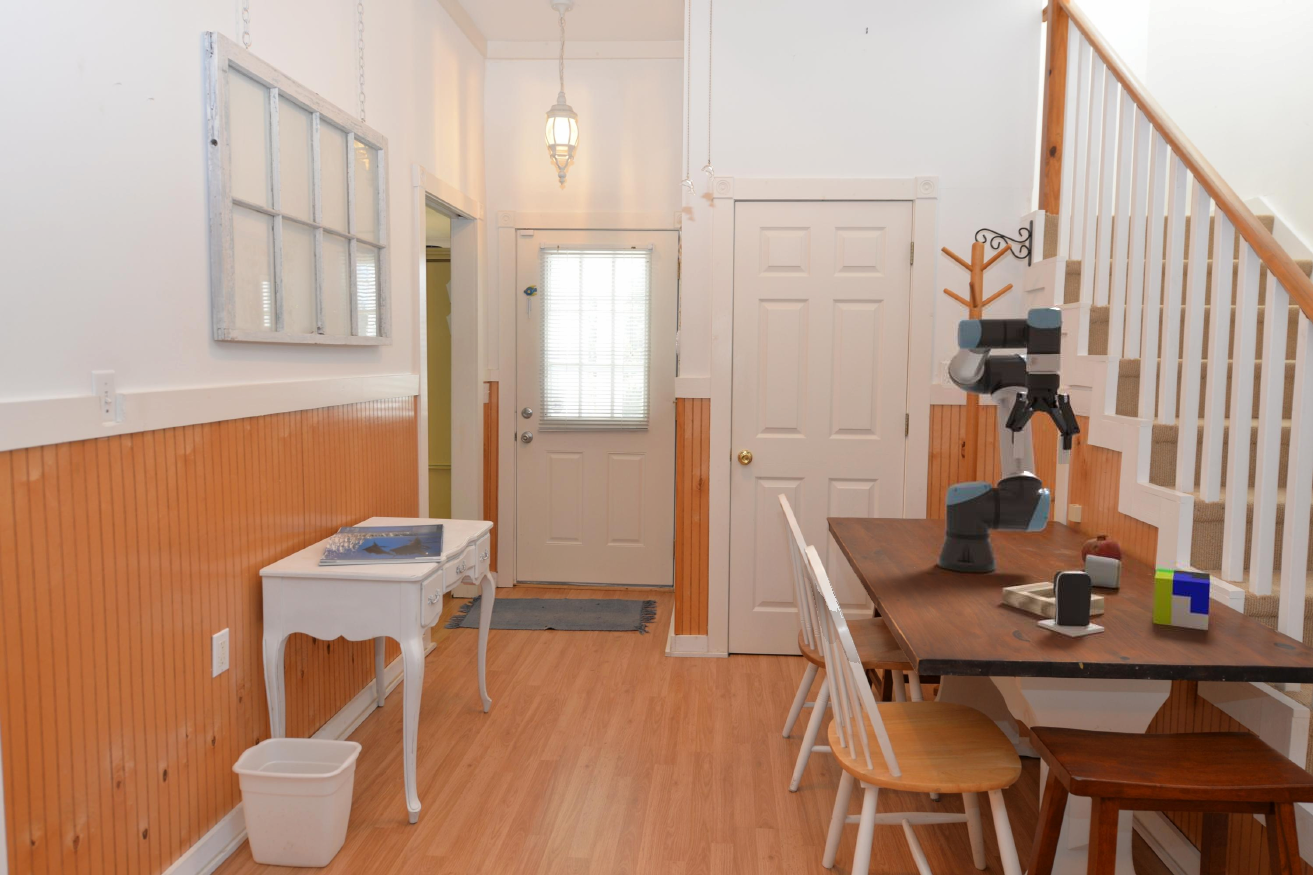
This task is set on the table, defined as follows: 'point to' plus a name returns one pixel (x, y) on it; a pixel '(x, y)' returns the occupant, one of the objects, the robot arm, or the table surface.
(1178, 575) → the puzzle toy
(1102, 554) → the fruit
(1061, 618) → the battery charger
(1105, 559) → the grey rounded block
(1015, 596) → the holder block
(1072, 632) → the white square tile
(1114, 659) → the table surface
